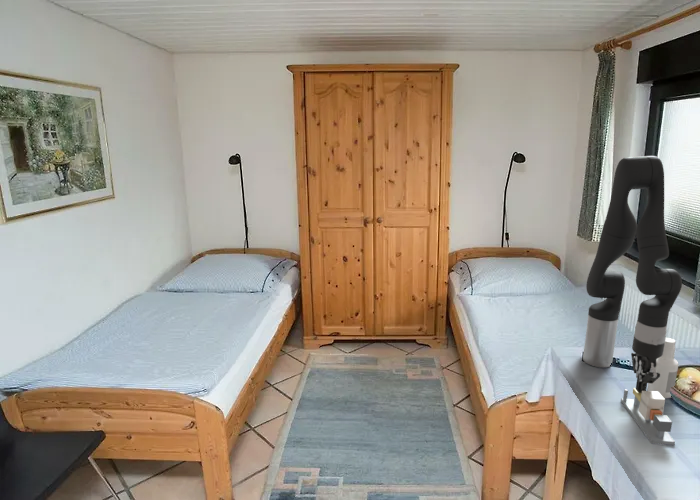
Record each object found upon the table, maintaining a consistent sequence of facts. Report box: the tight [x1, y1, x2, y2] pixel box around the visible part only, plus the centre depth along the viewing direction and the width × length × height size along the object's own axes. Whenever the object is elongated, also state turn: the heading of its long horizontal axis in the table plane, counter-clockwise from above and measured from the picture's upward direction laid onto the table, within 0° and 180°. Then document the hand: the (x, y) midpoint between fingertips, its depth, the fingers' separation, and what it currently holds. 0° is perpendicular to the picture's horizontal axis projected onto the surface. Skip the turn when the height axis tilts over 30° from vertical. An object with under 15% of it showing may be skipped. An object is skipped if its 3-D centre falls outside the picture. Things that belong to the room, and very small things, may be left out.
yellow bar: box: [632, 387, 673, 433], centre depth 136 cm, size 18×3×3 cm, turn 173°
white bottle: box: [646, 337, 679, 399], centre depth 150 cm, size 7×7×18 cm
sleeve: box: [639, 390, 666, 420], centre depth 135 cm, size 4×4×6 cm
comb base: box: [620, 388, 676, 446], centre depth 137 cm, size 20×6×4 cm, turn 173°
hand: (640, 391), depth 141 cm, fingers closed
